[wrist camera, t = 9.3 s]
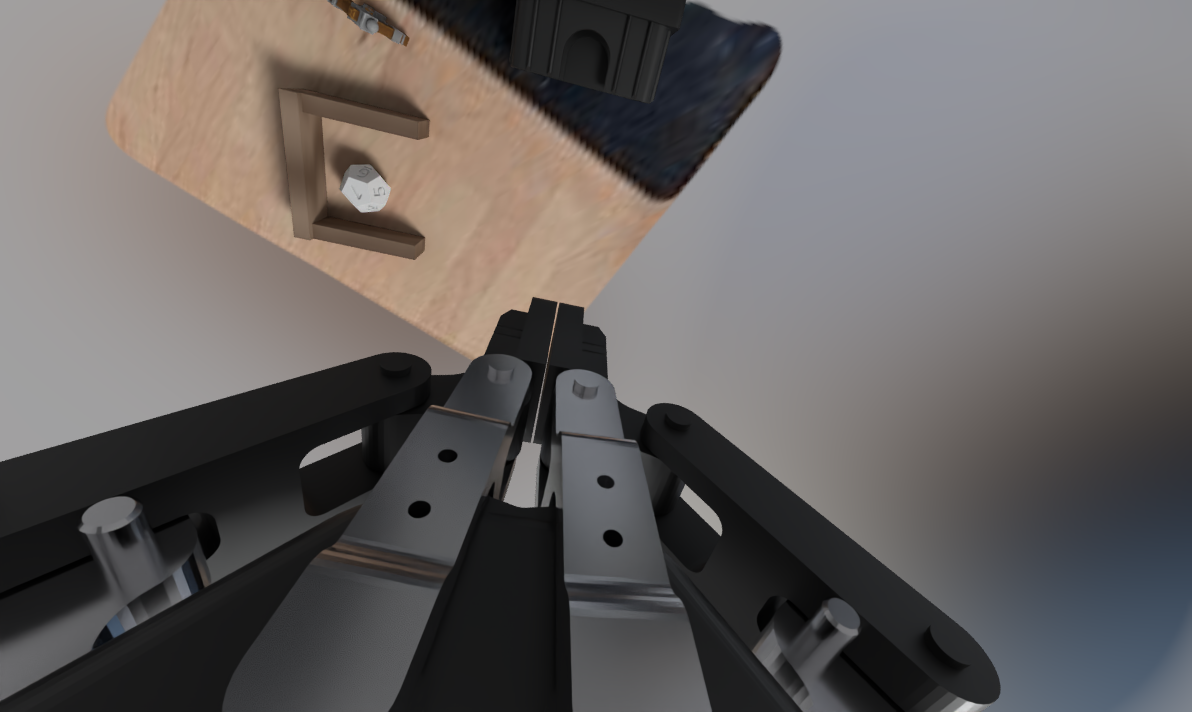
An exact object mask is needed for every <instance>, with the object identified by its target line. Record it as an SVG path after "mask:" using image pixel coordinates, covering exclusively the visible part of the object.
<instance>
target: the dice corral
mask: <svg viewBox="0 0 1192 712" xmlns="http://www.w3.org/2000/svg"><path fill="white" fill-rule="evenodd" d="M278 90H279V100H280V109H281V118H282V128H283V137H284V147H285V156H286V165H287V175H288V184H289V194H290V203H291V213H292V222H293V231H294V237H297V238H302V239H306V240H311V239H318V240H323V241H327V242H332V243H337V244H342V245H346V246H351V247H356V248H361V249H365V250H370V251H375V252H380V253H384V254H389V255H394V256H399V257H403V258H408V259H413V260H415V259H416V258H417V257H418V256H419V255H420V254H422V253H423V252H424V250H425V237H420V236H416V235H411V234H407V233H402V232H397V231H393V230H388V229H384V228H379V227H374V226H370V225H365V224H361V223H356V222H351V221H347V220H342V219H337V218H333V217H328V207H327V192H326V177H325V162H324V147H323V132H322V117H325V118H329V119H333V120H337V121H342V122H346V123H350V124H354V125H358V126H362V127H366V128H371V129H375V130H379V131H383V132H387V133H391V134H396V135H400V136H404V137H408V138H412V139H416V140H419V139H423V138H427V137H429V121H430V120H427V119H423V118H419V117H415V116H411V115H407V114H403V113H399V112H395V111H391V110H387V109H383V108H378V107H374V106H370V105H366V104H362V103H358V102H354V101H350V100H346V99H342V98H338V97H334V96H330V95H326V94H322V93H318V92H313V91H309V90H305V89H282V88H278Z"/></svg>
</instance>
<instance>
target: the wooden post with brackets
mask: <svg viewBox="0 0 1192 712" xmlns="http://www.w3.org/2000/svg"><path fill="white" fill-rule="evenodd" d="M327 1H328V2H330V3H331V4H332V5H333V6H334V7H336V8H338V9H340V10H342V11H344V12H345V13H346V14H347V15H348V16H347V18H349V19H351V20H352V21H353V22H354V23H355V24H356V25H358V26H359V28H360V29H362V30H364V31H366V32H368V33H370V34H372V35H373V34H374V33H376V32H379V33H381V34H383V35H385V36H386V37H388V38H389V39H390V40H392V41H394V42H396V43H398V44H399V43H400V44H402V45H404V46H407V43H408V41H409V37H408V36H407V35H405V34H404V33H402V32H401V31H399V30H398V29H396V28H395V27H393V26H391V25H389V24H388V23H386V22H385V21H386V18H387V17H386V16H384V15H382V14H380V13H378V12H376V11H375V10H374V8H372V7H370V6H368V5H366V4H365V3H364V4H363V5H362V6H359V5H357V4H355V3H354V2H353V1H352V0H327Z"/></svg>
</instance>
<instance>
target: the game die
mask: <svg viewBox="0 0 1192 712" xmlns="http://www.w3.org/2000/svg"><path fill="white" fill-rule="evenodd" d="M339 189H340V190H341V192H342V193H343V194H344V195H345V196H346V197H347V198H348V199H349V201H350V202H351V203H352V204H353V205H354V206H355V207H356V208H357V209H358V210H359V211H360V212H373V211H380V210H381V209H382V208H383V207H384V206H385V205H386V202H387V199H388V196H389V193H390V190H391V188H390V187H389V186H388V185H387V183H386V182H385V181H384V180H383V178H382V177H381V176H380V175H379V174H378V173H377V172H376V170H375V169H374V168H373V167H372V166H371V165H370V164H365V165H350V167H349V168H348V169H347V171H346V172H345V174H344V177H343V180H342V183H341V185H340V188H339Z"/></svg>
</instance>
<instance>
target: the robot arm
mask: <svg viewBox="0 0 1192 712" xmlns="http://www.w3.org/2000/svg"><path fill="white" fill-rule="evenodd" d="M556 308H557V302H555V301H550V300H545V299H540V298H535V297H533V298H532V302H531V305H530V308H529V311H528V313H526V312H522V311H517V310H512V309H511V310H510V311H508V312H506V313H505V314H503V315H501V317H500V319H499V321H498V324H497V327H496V328H495V331H494V334H493V335H492V338H491V340H490V342H489V345H488V347H487V350H486V352H485V354H484V355H483V356H480V357H478V358H476V359H474V360H473V361H472V362H471V364H470V365H469V367H468V368H467V370H466V372H465V373H461V374H455V375H431V367H430V365H429V364H428V363H427V362H426V361H425V360H424V359H422V358H420V357H418V356H415V355H412V354H407V353H399V352H392V353H382V354H378V355H374V356H371V357H367V358H364V359H360V360H357V361H353V362H350V363H347V364H343V365H339V366H336V367H332V368H329V369H325V370H322V371H318V372H315V373H311V374H308V375H304V376H300V377H297V378H293V379H290V380H286V381H283V382H280V383H276V384H272V385H269V386H265V387H262V388H258V389H255V390H251V391H248V392H245V393H241V394H237V395H234V396H230V397H227V398H223V399H220V400H216V401H213V402H209V403H206V404H202V405H199V406H195V407H192V408H188V409H185V410H181V411H178V412H174V413H171V414H167V415H164V416H160V417H156V418H153V419H150V420H146V421H142V422H139V423H135V424H132V425H129V426H125V427H121V428H118V429H114V430H111V431H107V432H104V433H100V434H97V435H93V436H90V437H86V438H83V439H79V440H76V441H72V442H69V443H65V444H62V445H58V446H55V447H51V448H47V449H44V450H40V451H37V452H34V453H30V454H26V455H23V456H20V457H16V458H12V459H9V460H5V461H2V462H0V712H981V711H983V710H984V709H985V708H986V707H988V706H989V705H991V704H992V703H993V702H995V701H996V700H997V699H998V698H999V695H1000V682H999V677H998V675H997V672H996V670H995V668H994V666H993V664H992V662H991V661H990V659H989V657H988V656H987V654H986V653H985V652H984V650H983V649H982V648H981V646H980V645H979V644H978V643H977V642H976V641H975V640H974V638H972V636H971V635H970V634H968V632H967V631H965V630H964V629H963V628H962V627H960V626H959V625H958V624H957V623H956V622H955V621H954V620H952V619H951V618H949V616H947V615H946V614H945V613H943V612H942V611H941V610H940V609H939V608H937V607H936V606H935V605H934V604H932V603H931V602H930V601H928V600H927V599H926V598H925V597H923V596H922V595H921V594H920V593H919V592H917V591H916V590H915V589H913V588H912V587H911V586H910V585H909V584H907V583H906V582H905V581H904V580H902V579H901V578H900V577H898V576H897V575H896V574H895V573H894V572H892V571H891V570H890V569H889V568H887V567H886V566H885V565H884V564H882V563H881V562H880V561H878V560H877V559H876V558H875V557H873V556H872V555H871V554H870V553H869V552H867V551H866V550H865V549H864V548H862V547H861V546H860V545H858V544H857V543H856V542H855V541H854V540H852V539H851V538H850V537H849V536H847V535H846V534H845V533H844V532H842V531H841V530H840V529H839V528H837V527H836V526H835V525H834V524H832V523H831V522H830V521H829V520H827V519H826V518H825V517H824V516H822V515H821V514H820V513H818V512H817V511H816V510H815V509H814V508H812V507H811V506H810V505H809V504H807V503H806V502H805V501H803V500H802V499H801V498H800V497H799V496H797V495H796V494H795V493H794V492H792V491H791V490H790V489H788V488H787V487H786V486H785V485H784V484H782V483H781V482H780V481H779V480H777V479H776V478H774V477H773V476H772V475H771V474H770V473H769V472H767V471H766V470H765V469H764V468H762V467H761V466H760V465H758V464H757V463H756V462H755V461H754V460H752V459H751V458H750V457H749V456H747V455H746V454H745V453H744V452H742V451H741V450H740V449H739V448H737V447H736V446H735V445H733V444H732V443H731V442H730V441H729V440H727V439H726V438H725V437H724V436H722V435H721V434H720V433H718V432H717V431H716V430H715V429H713V428H712V427H711V426H710V425H709V424H707V423H706V422H705V421H704V420H702V419H701V418H700V417H699V416H697V415H696V414H694V413H693V412H692V411H690V410H688V409H686V408H684V407H682V406H679V405H675V404H669V403H660V404H655V405H653V406H651V407H650V408H649V409H648V411H647V414H644V413H642V412H639V411H637V410H634V409H632V408H629V407H627V406H626V405H624V404H622V403H621V402H619V401H618V400H617V399H616V393H615V389H614V387H613V385H612V384H611V383H610V381H608V375H607V356H606V355H607V352H606V336H605V335H604V334H603V332H602V331H601V330H600V328H599V327H595V326H591V325H586V324H583V317H584V307H579V306H574V305H569V304H565V303H559V308H558V313H557V318H556V323H555V328H554V333H553V337H552V342H551V347H550V352H549V346H550V341H551V335H552V330H553V324H554V319H555V313H556ZM548 352H549V357H548ZM547 358H548V363H547ZM546 363H547V368H546ZM545 368H546V374H545V379H544V385H543V390H542V396H541V402H540V408H539V413H538V419H537V425H536V430H535V436H534V441H533V443H536V444H542V445H541V452H540V456H539V461H538V466H537V474H536V494H535V507H532V508H520V507H516V506H513V505H510V504H508V503H505V502H503V501H504V498H505V495H506V492H507V489H508V486H509V483H510V480H511V477H512V473H513V471H514V467H515V463H516V458H517V455H518V454H519V453H520V450H521V447H522V442H523V441H524V442H531V438H532V433H533V427H534V423H535V418H536V413H537V408H538V403H539V397H540V393H541V388H542V383H543V377H544V373H545ZM360 429H361V430H362V442H361V443H359V444H356V445H354V446H352V447H350V448H347V449H345V450H342V451H340V452H338V453H335V454H333V455H331V456H328V457H326V458H323V459H321V460H319V461H316V462H314V463H312V464H309V465H307V466H305V467H302V468H300V469H299V466H300V463H301V461H302V460H303V458H304V457H305V456H306V454H308V453H309V452H310V451H311V450H312V449H314V448H316V447H318V446H320V445H322V444H325V443H327V442H330V441H332V440H334V439H337V438H340V437H342V436H345V435H347V434H350V433H352V432H355V431H357V430H360ZM685 484H686V485H687V486H688V487H689V488H690V489H691V490H692V491H693V492H694V493H696V494H697V495H698V496H699V497H700V498H701V499H702V500H703V501H704V502H705V503H706V504H707V505H708V506H710V508H711V509H712V510H713V511H714V512H715V513H716V514H717V515H718V517H719V519H720V521H721V524H722V535H721V536H720V535H719V534H718V533H717V532H716V531H715V530H714V529H713V528H712V527H711V526H710V525H709V524H708V523H707V522H705V521H704V520H703V519H702V518H701V517H700V516H699V515H698V514H697V513H696V512H695V511H694V510H693V509H692V508H691V507H690V506H689V505H688V504H687V503H686V502H685V501H684V500H683V499H682V498H681V497H680V495H681V492H682V490H683V488H684V486H685Z"/></svg>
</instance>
